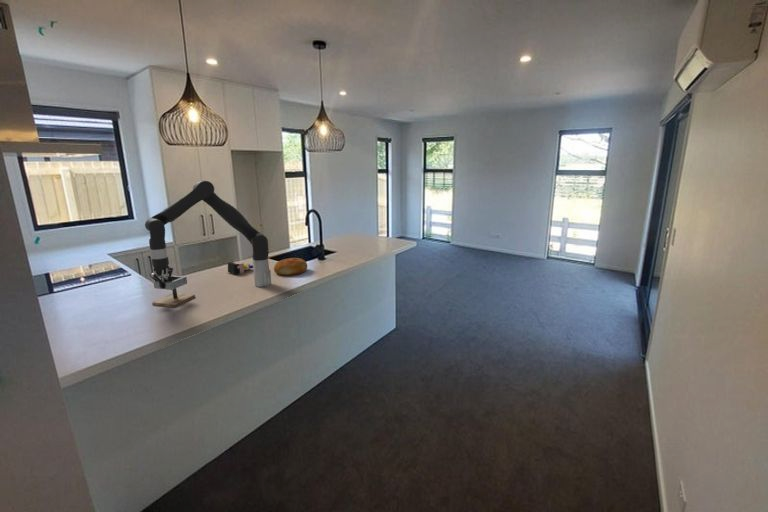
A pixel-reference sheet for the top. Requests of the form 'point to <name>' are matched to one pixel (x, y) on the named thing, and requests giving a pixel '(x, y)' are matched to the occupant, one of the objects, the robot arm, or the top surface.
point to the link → (172, 282)
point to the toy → (238, 267)
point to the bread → (290, 266)
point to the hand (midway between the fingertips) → (164, 287)
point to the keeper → (173, 299)
